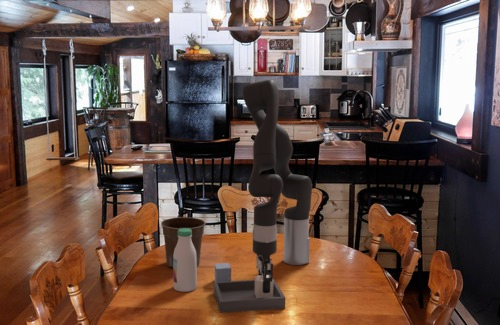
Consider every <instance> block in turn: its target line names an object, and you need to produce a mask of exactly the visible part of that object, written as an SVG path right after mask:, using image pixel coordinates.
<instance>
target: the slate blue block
mask: <svg viewBox="0 0 500 325" xmlns="http://www.w3.org/2000/svg"><path fill="white" fill-rule="evenodd" d="M222 281H232V267H231V264H230V263H229V262H222V263H221V262H220V263H214V282H222Z"/></svg>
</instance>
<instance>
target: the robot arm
mask: <svg viewBox="0 0 500 325" xmlns="http://www.w3.org/2000/svg"><path fill="white" fill-rule="evenodd" d="M242 97H243V100H244V104H245V106H246V109H247V110H248V113H249V114H250V117H251V118H252V120H253V122H254V124H255V126H256V128H257V130H258V131H257V133H256V135H255V137H254V139H253V140H254V141H253V148H252V151H253V155H252V156H253V162H252V164H253V165H252V166H253V167H252V171H251V173H250V174H251V175H250V177H249V181H248V187H247V188H248V193H249V195H251V197H253V198H269V200H268V201H266V202H262V203H258V204H256V205H254V208H253V229H252V252H253V253H254V254H255V255H256V265H255V266H256V269H257V273H258V275H257V276H259V275H262V277H263V279H262V280H263V293H269V292H270V282H272V280H273V279H274V278H273V277H274V276H273V275H274V272H273V270H274V264H273V260H272V258H271V255H275V254H276V253H277V249H278V247H277V246H278V241H277V240H278V228H277V212H278V205H279V200H280V198H281V195H282V196H283V197H284V198H285V199H289V200H296V204H295V205H294V206H290V207H286V208H285V209H284V212H283V213H284V215H283V254H282V255H283V260H282V261H283V262H284V263H285V264H287V265H293V266H302V265H305V264H310V254H311V252H310V249H311V248H310V247H311V238H310V237H309V233H310V232H309V227H310V225H309V224H310V212H311V206H312V205H311V204H312V195H313V194H312V193H313V184H312V180H311V178H310V177H309V176H308V175H307V176H306V175H300V174H296V173H295V174H293V173H292V172H291V170H290V167H289V163H290V161H291V158H292V156H293V152H294V147H293V143H292V140H291V138H290V135H289V133H288V131H287V130H286V129H285V128H284V127H283V126H282V125H280V124H279V123H278V116H279V106H280V92H279V88H278V86H277V83H276V82H275V81H274V80H273V79H267V80H261V81H256V82H251V83H247V84H245V85H244V86H243V88H242ZM264 110H266V113H265V111H264ZM271 169H273V170H274V173H273V174H271V173H270V174H266V173H264V174H261V173H262V172H264V171H269V170H271ZM266 275H269V278H266Z"/></svg>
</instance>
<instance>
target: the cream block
mask: <svg viewBox="0 0 500 325" xmlns="http://www.w3.org/2000/svg"><path fill="white" fill-rule="evenodd" d="M266 278H269V275H266ZM262 279H263V277H262V275H259V276H258V275H254V280H255V295H256V298H267V297H273V282H274V281H273V280H272V282H270V292H269V293H263V280H262Z"/></svg>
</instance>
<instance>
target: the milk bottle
mask: <svg viewBox="0 0 500 325" xmlns="http://www.w3.org/2000/svg"><path fill="white" fill-rule="evenodd" d="M191 237H192V230H191V229H188V228H182V229H179V230H178V243H177V245H176V247H175V250H174V255H173V267H172V271H173V272H172V274H173V275H172V278H173V279H172V280H173V282H172V283H173V289H174V290H175V291H176V292H177V291H178V292H183V293H186V292H188V293H189V292H192V291H194V290H196V288H197V287H198V286H197V285H198V276H197V275H198V273H197V272H198V270H197V269H198V266H197V257H196V250H195V248H194V245H193V243H192V240H191Z"/></svg>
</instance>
